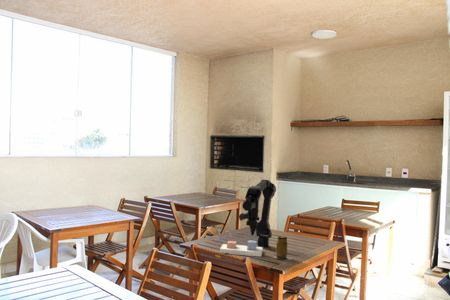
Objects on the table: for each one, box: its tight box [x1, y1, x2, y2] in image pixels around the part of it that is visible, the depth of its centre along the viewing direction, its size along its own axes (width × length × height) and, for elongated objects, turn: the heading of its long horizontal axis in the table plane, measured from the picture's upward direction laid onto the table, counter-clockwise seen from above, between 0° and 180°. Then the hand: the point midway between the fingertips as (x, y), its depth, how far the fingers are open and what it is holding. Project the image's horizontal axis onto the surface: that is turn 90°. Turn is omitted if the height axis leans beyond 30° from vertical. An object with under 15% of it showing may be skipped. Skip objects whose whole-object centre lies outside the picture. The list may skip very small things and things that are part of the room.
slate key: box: [246, 239, 258, 250], centre depth 228 cm, size 5×5×4 cm
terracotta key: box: [226, 240, 237, 249], centre depth 230 cm, size 5×5×4 cm
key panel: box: [219, 243, 264, 257], centre depth 229 cm, size 24×12×2 cm, turn 81°
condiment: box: [272, 235, 293, 261], centre depth 221 cm, size 7×8×12 cm
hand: (252, 235), depth 229 cm, fingers closed
